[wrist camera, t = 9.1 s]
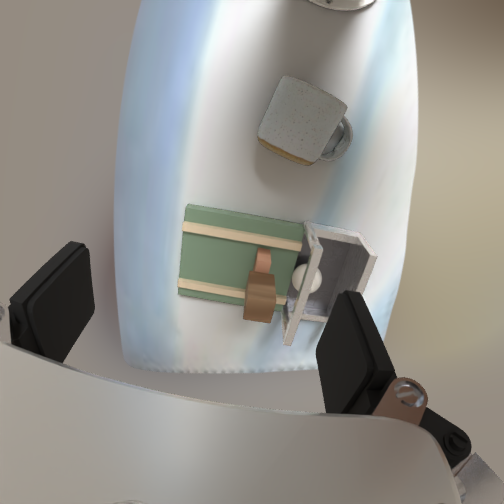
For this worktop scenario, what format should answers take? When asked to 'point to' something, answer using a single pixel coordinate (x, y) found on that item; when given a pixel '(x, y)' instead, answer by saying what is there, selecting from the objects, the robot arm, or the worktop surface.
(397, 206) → the worktop surface
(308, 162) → the ceramic mug
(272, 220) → the field
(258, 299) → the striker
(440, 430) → the robot arm
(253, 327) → the worktop surface
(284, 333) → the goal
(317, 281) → the ball
